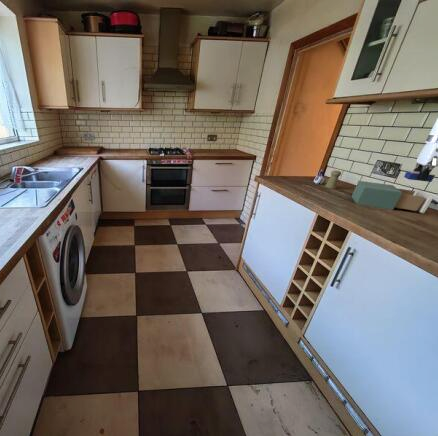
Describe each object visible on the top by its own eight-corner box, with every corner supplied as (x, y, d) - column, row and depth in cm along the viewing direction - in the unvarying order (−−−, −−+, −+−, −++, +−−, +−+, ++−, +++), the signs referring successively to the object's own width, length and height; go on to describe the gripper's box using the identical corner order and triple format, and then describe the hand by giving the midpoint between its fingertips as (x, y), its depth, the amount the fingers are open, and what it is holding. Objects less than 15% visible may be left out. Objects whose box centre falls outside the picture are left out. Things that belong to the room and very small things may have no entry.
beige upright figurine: (337, 189, 147) (344, 172, 142) (326, 187, 149) (332, 171, 144) (334, 186, 152) (341, 170, 147) (324, 185, 154) (330, 169, 149)
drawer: (424, 206, 120) (432, 192, 116) (436, 215, 109) (446, 200, 106) (379, 199, 128) (386, 186, 124) (387, 207, 117) (394, 192, 114)
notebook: (425, 179, 112) (429, 172, 110) (431, 181, 107) (435, 175, 106) (403, 176, 115) (407, 170, 114) (408, 179, 111) (411, 172, 109)
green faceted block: (384, 201, 128) (392, 185, 123) (392, 210, 116) (402, 192, 112) (351, 196, 134) (358, 180, 130) (356, 204, 123) (364, 187, 119)
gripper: (462, 142, 95) (437, 184, 103) (440, 139, 108) (420, 176, 116) (436, 141, 98) (414, 181, 106) (419, 137, 112) (400, 173, 119)
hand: (417, 178), depth 111 cm, fingers closed on notebook, 5 cm apart
